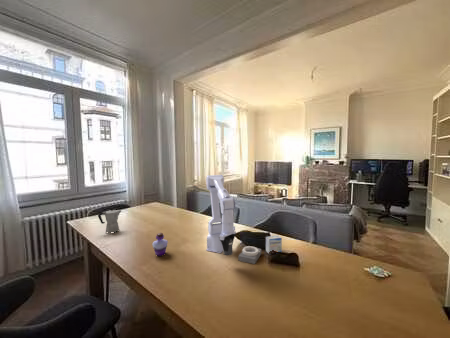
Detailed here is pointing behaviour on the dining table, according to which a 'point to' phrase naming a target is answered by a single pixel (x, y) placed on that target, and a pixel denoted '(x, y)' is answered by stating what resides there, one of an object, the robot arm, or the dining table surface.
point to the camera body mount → (249, 254)
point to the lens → (229, 249)
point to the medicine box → (274, 243)
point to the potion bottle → (160, 245)
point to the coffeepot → (111, 220)
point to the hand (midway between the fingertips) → (227, 248)
